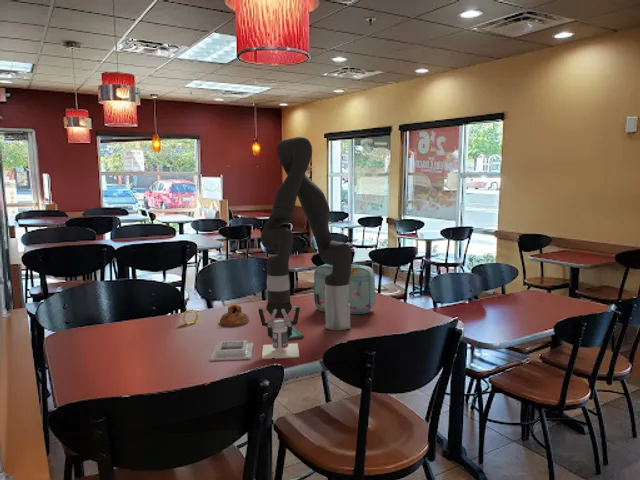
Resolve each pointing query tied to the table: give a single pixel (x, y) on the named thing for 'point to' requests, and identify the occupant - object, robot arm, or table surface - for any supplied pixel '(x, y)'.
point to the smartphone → (295, 334)
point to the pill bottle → (279, 335)
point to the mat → (280, 352)
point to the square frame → (232, 350)
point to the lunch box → (358, 288)
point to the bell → (234, 317)
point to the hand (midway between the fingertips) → (280, 336)
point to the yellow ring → (190, 311)
